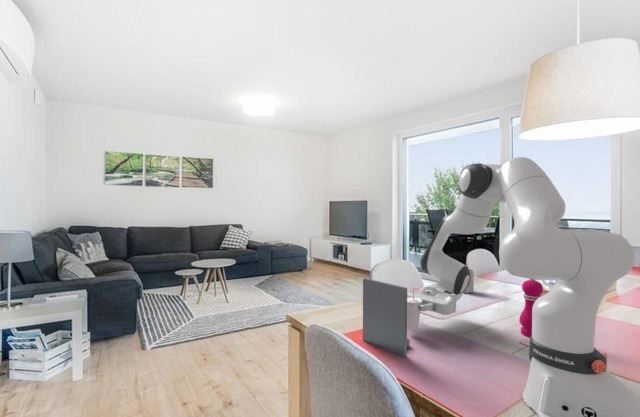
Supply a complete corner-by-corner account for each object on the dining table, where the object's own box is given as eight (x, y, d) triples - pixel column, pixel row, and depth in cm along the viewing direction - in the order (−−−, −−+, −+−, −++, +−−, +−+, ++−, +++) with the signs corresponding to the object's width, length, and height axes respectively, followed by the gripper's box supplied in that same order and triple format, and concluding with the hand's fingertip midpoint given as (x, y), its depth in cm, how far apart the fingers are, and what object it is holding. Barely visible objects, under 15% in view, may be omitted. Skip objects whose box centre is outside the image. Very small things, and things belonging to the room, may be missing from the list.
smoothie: (408, 332, 109) (408, 290, 109) (398, 325, 116) (399, 285, 115) (425, 330, 111) (426, 288, 111) (415, 323, 117) (415, 283, 117)
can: (470, 290, 170) (470, 266, 170) (475, 294, 162) (476, 269, 162) (455, 289, 171) (455, 266, 170) (459, 293, 163) (459, 269, 163)
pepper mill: (521, 328, 119) (521, 272, 118) (545, 334, 114) (546, 275, 113) (517, 335, 113) (518, 276, 112) (543, 340, 108) (544, 279, 108)
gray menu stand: (419, 349, 102) (419, 284, 101) (404, 357, 97) (404, 288, 96) (378, 333, 114) (378, 275, 113) (362, 340, 109) (362, 278, 108)
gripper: (408, 283, 129) (386, 289, 120) (460, 295, 114) (438, 303, 105) (408, 299, 129) (385, 307, 120) (460, 313, 114) (438, 323, 105)
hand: (410, 305), depth 112 cm, fingers closed on smoothie, 6 cm apart
